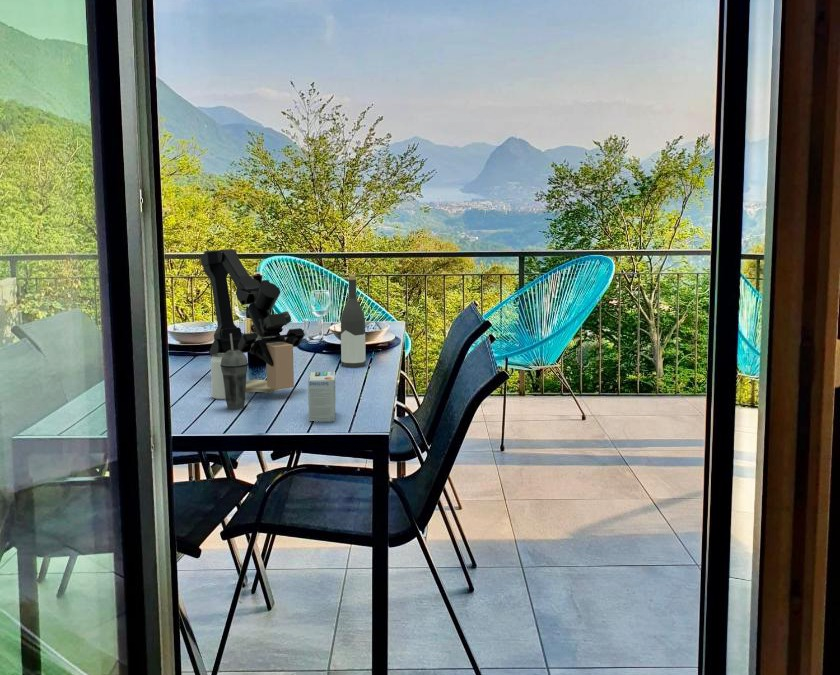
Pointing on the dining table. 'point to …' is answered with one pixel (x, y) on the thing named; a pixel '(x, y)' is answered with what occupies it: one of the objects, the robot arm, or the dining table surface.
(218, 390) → the can
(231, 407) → the beverage cup
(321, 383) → the light bulb box
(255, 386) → the brass board
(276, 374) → the tall block
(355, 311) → the wine bottle
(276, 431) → the dining table surface
